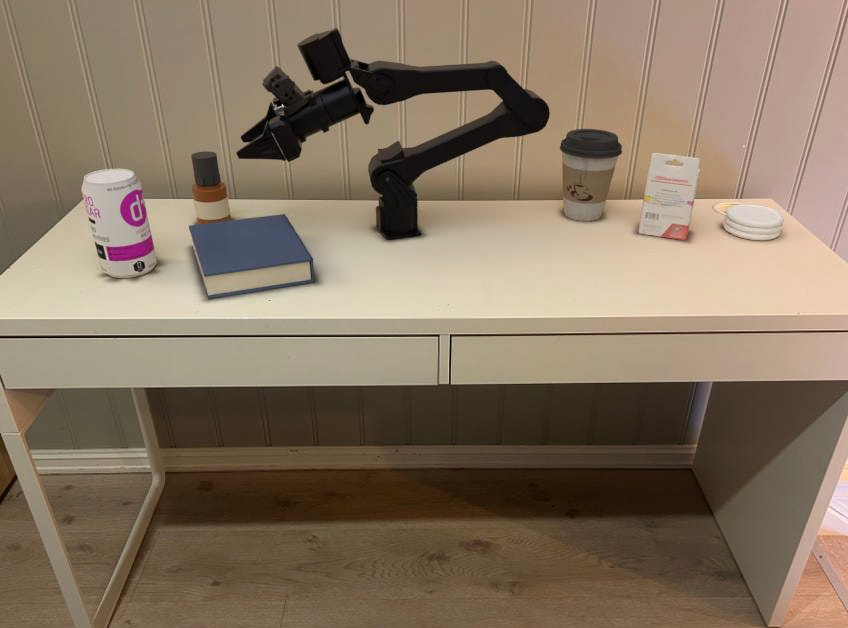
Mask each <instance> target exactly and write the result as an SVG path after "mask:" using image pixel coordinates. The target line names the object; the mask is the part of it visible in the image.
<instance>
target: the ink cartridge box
mask: <svg viewBox="0 0 848 628" xmlns="http://www.w3.org/2000/svg"><path fill="white" fill-rule="evenodd" d="M650 158H651V159H650V163H649V168H648V169H647V173H646V181H645V187H644V194H643V199H642V207H641V212H640V219H639V224H638V234H640V235H648V236H653V237H654V236H655V237H662V238H666V239H668V238H669V239H673V240H679V241H686V240H687V236H688V233H689V230H690V226H691V220H692V216H693V210H694V205H695V199H696V194H697V188H698V183H699V177H700V173H701V172H700V171H701V169H700V167H699V166H700V163H701V162H700V161H701V160H700V158H699V157H692V156H687V155H678V154H669V153H660V152H652V154H651V156H650ZM674 161H676V162H677V163H680V164H682V165H680V166H679V165H670V164H667V162H674Z"/></svg>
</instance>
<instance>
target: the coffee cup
mask: <svg viewBox="0 0 848 628" xmlns="http://www.w3.org/2000/svg"><path fill="white" fill-rule="evenodd" d="M565 135H566V136H565V138H563V139H562V140H561V142H560V146H559V150H560V151H561V161H562V163H561V165H562V166H561V167H562V209H563V214H564V215H565V217H567V218H568V219H571V220H574V221H580V222H591V221H596V220H599V219H600V218H601V217H602V214H603V213H604V209H605V207H606V203H607V199H608V195H609V191H610V188H611V185H612V181H613V178H614V173H615V169H616V166H617V162H618V158H619V156H621V155H622V154H623V145H622V144H621V143H620V142H619V136H618V135H617V134H615V133H614V132H611V131H608V130H605V129H604V130H603V129H598V128H597V129H596V128H577V129H572V130H570V131H567V133H566V134H565Z"/></svg>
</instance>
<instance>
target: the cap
mask: <svg viewBox="0 0 848 628" xmlns="http://www.w3.org/2000/svg"><path fill="white" fill-rule="evenodd" d="M190 157H191V158H190V159H191V164H192V169H193V178H194V182H195V183H194V184H197V185H201V186H211V185H216V184H218V183H220V182H222V180H221V173H220V169H219V163H218V155H217V152H214V151H207V150H205V151H198V152H194V153H192V154H191V155H190Z"/></svg>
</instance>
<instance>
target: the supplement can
mask: <svg viewBox="0 0 848 628" xmlns="http://www.w3.org/2000/svg"><path fill="white" fill-rule="evenodd" d="M143 192H144V191H143V187H142V183H141V180H140V179H139V178H138V177H137V176H136V175H135V172H134V171H133V170H130V169H127V168H105V169H99V170H95V171H92V172H89V173H87V174H85V175H84V176H83V182H82V185H81V194H82V199H83V203H84V206H85V210H86V213H87V217H88V222H89V225H90V229H91V233H92V237H93V241H94V245H95V249H96V253H97V257H98V261H99V265H100V269H101V271H102V272H103V273H105V274H107V275H108V276H110V277H113V278H115V279H132V278H137V277H140V276H142V275H146V274H148V273H150V272H151V271H152V270H153V269H154V267H155V266H156V265H157V264H158V259H157V254H156V250H155V246H154V245H155V244H154V241H153V235H152V230H151V226H150V221H149V217H148V212H147V207H146V201H145V198H144V197H145V196H144V193H143Z"/></svg>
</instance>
